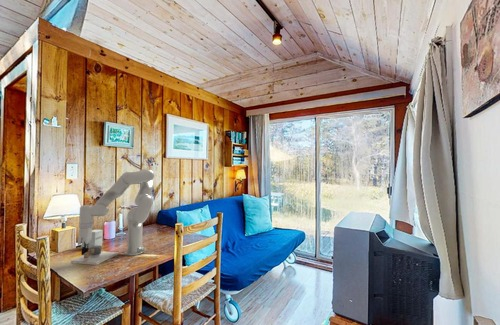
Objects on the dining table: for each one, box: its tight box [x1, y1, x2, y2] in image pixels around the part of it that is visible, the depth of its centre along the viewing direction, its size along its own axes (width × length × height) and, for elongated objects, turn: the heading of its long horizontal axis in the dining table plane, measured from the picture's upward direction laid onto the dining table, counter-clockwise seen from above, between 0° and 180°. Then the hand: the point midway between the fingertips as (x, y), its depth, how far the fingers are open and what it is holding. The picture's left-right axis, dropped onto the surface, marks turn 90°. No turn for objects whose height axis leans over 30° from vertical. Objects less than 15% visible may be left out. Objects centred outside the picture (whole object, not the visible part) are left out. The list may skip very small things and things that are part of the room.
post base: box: [70, 250, 118, 266], centre depth 155 cm, size 19×19×3 cm
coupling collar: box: [84, 246, 102, 259], centre depth 152 cm, size 15×6×4 cm, turn 7°
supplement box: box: [88, 229, 104, 250], centre depth 178 cm, size 7×7×13 cm
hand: (84, 254), depth 148 cm, fingers closed
